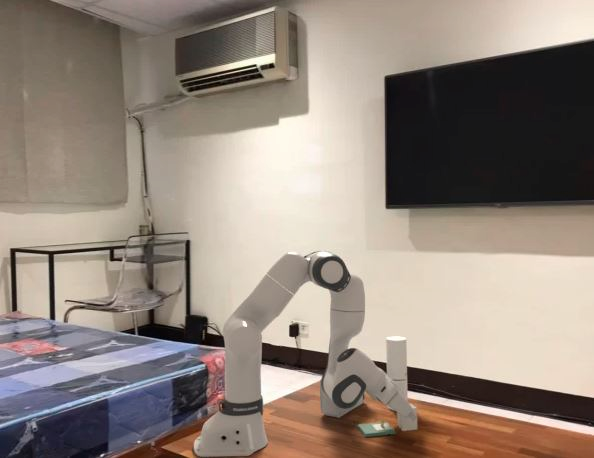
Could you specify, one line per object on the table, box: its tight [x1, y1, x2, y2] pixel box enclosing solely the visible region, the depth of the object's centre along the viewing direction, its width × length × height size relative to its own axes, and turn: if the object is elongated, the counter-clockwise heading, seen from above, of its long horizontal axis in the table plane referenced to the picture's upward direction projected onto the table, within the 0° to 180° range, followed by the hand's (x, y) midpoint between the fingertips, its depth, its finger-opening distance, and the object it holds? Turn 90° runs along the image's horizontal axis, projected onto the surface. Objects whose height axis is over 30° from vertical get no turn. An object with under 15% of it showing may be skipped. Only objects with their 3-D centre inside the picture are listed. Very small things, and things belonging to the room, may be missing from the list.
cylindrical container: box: [385, 335, 409, 412], centre depth 197 cm, size 7×7×25 cm
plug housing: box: [396, 402, 418, 432], centre depth 178 cm, size 5×5×8 cm
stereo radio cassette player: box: [319, 379, 366, 419], centre depth 197 cm, size 21×8×20 cm, turn 145°
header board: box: [357, 418, 397, 438], centre depth 176 cm, size 10×8×3 cm
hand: (408, 413), depth 178 cm, fingers open, 8 cm apart
